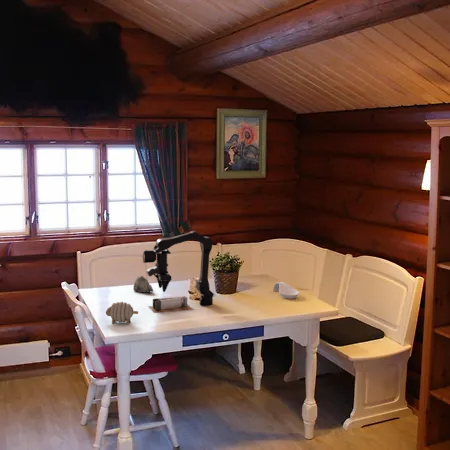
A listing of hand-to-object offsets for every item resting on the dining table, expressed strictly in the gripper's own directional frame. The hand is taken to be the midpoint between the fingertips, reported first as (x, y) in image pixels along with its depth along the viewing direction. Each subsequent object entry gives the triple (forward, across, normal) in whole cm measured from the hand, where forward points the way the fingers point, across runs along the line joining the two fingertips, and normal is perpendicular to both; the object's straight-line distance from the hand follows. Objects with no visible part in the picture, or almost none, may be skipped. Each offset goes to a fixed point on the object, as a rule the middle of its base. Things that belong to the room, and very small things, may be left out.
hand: (162, 289), depth 354 cm
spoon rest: (+12, -10, +78) cm, 79 cm away
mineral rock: (+12, -43, -2) cm, 44 cm away
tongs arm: (+10, +3, +4) cm, 11 cm away
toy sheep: (+12, +18, -25) cm, 33 cm away
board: (+12, +1, +4) cm, 12 cm away
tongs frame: (+10, 0, +4) cm, 11 cm away
